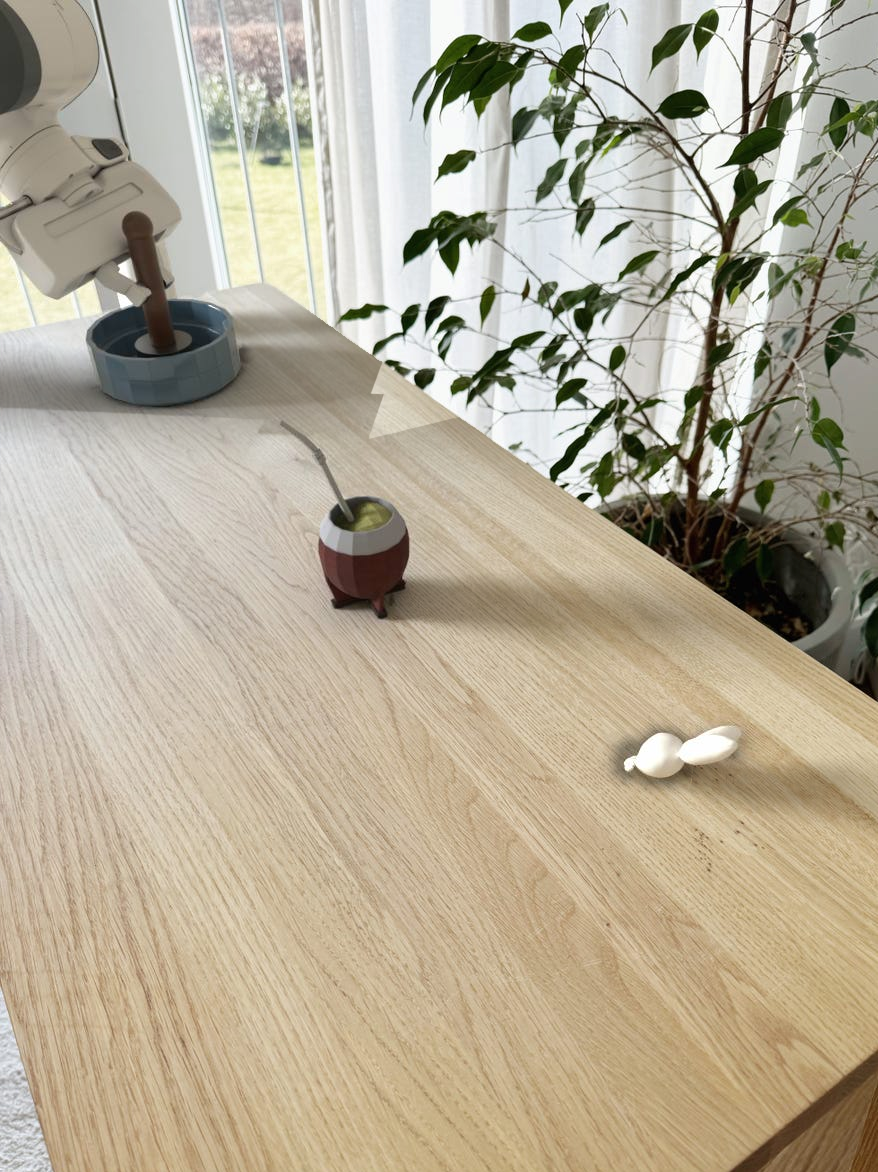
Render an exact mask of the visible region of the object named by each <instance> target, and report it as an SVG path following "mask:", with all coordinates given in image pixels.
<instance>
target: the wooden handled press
mask: <svg viewBox="0 0 878 1172" xmlns="http://www.w3.org/2000/svg"><path fill="white" fill-rule="evenodd" d="M153 230H154V229H153V223H152V221H151V219H150V218H149V217H148V216H147V215H146V214H144V213H142V212H140V211H132V212H129V213H127V214H126V215H125V216H124V218H123V220H122V231H123V233H124V235H125V236H126V239H127V243H128V248H129V252H130V256H131V260H132V265H133V269H134V273H135V277H136V282H137V281H139V280H141V281H142V282H143V283H144V284H145V286H146V287H147V288H149V289H150V290H151V293H152V296H151V297H150V298H149V300H148V301H147V302H146V303H144V304H143V305H142V307H143V311H144V316H145V320H146V324H147V328H148V334H146V335H144V336H142V337H140V338H139V339H138V340H137V341H136V342H135V349H136V353H137V357H138V358H156V357H166V356H173V355H177V354H182V353H186V352H190V351H193V350H194V345H193V341H192V337H191V336H190V335H189V334H188V333H186V332H183V331H179V330H174V329H173V325H172V320H171V315H170V311H169V306H168V302H167V297H166V292H165V288H164V283H163V279H162V274H161V269H160V265H159V260H158V255H157V251H156V246H155V242H154V237H153Z"/></svg>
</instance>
